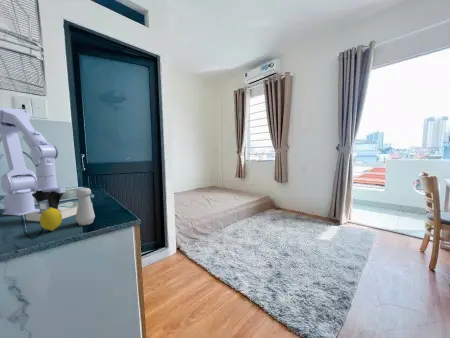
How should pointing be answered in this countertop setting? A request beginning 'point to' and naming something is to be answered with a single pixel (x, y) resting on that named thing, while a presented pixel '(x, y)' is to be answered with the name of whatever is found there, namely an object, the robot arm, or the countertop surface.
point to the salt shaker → (84, 207)
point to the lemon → (50, 219)
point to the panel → (64, 209)
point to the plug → (44, 206)
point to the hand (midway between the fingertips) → (49, 209)
